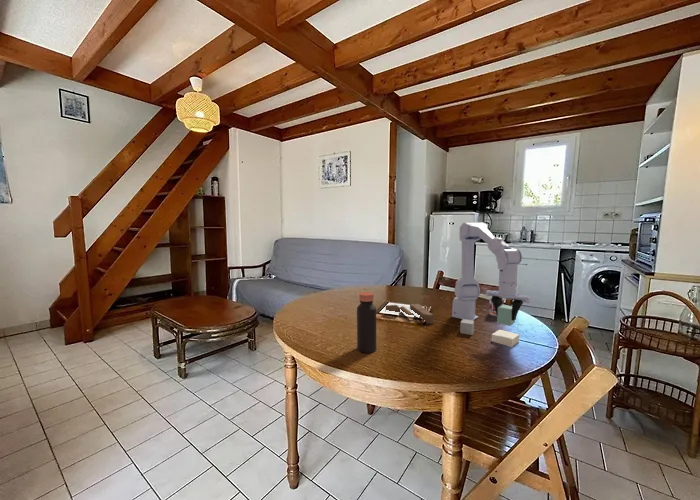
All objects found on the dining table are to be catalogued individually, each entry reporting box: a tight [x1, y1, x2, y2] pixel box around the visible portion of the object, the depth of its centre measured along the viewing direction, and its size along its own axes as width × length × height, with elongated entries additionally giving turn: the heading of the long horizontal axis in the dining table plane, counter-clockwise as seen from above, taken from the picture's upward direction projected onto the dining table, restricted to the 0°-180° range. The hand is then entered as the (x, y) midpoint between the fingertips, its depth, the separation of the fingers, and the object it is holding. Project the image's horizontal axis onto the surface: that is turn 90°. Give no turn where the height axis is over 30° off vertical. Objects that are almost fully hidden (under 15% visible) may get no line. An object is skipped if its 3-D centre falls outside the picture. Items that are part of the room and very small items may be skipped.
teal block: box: [496, 304, 516, 327], centre depth 108 cm, size 4×4×6 cm
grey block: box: [459, 319, 475, 336], centre depth 118 cm, size 4×4×4 cm
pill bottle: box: [488, 296, 505, 317], centre depth 139 cm, size 6×6×11 cm
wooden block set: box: [385, 303, 435, 325], centre depth 136 cm, size 17×6×18 cm
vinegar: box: [356, 291, 377, 354], centre depth 103 cm, size 7×7×20 cm
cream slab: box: [491, 329, 520, 348], centre depth 109 cm, size 7×7×3 cm
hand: (506, 318), depth 108 cm, fingers closed on teal block, 4 cm apart
